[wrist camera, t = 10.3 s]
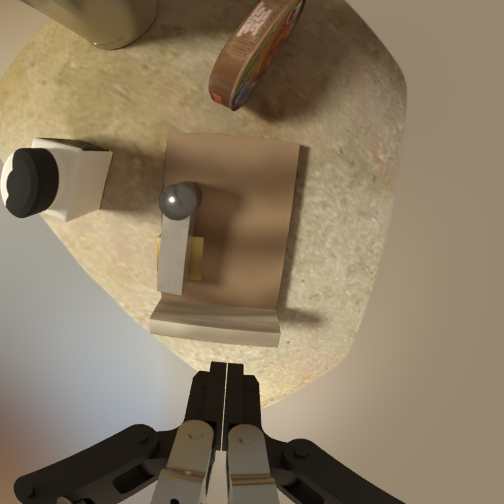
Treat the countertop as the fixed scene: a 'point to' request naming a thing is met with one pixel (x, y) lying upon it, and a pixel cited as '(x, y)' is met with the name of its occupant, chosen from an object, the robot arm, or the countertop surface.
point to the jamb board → (231, 238)
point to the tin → (252, 50)
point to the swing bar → (177, 235)
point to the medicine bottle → (55, 178)
